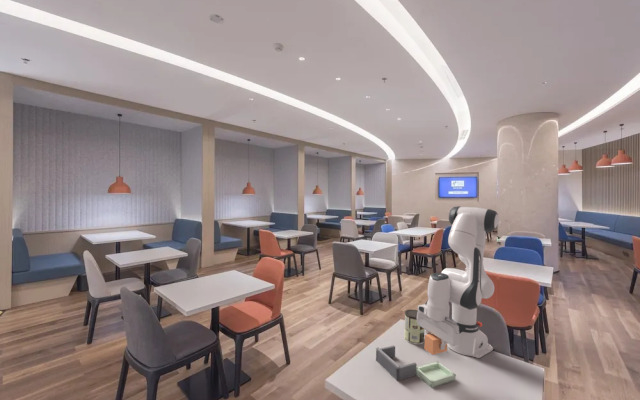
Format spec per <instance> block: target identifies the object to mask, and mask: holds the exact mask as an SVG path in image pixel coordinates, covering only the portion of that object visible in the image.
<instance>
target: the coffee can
mask: <svg viewBox="0 0 640 400" xmlns="http://www.w3.org/2000/svg"><path fill="white" fill-rule="evenodd" d="M418 311H419V310H418V309H407V310H405V311H404V332H403V338H404V340H405V341H406V342H407V343H409V344H411V345H417V346H418V345H423V344H425V329H424V328H422V327H421V326H419V325H418V324H417V312H418Z"/></svg>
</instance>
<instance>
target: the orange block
mask: <svg viewBox="0 0 640 400" xmlns="http://www.w3.org/2000/svg"><path fill="white" fill-rule="evenodd" d="M439 344H442V342H441V339H440V338H438V337H437V336H435V335H433V334H432V333H431V334H428V335H427V334H424V346H423V347H424V350H425V351H426V352H428V353H429V354H430V355H432V356H433V355H437V354H441V353H446V352H448V345H447V344H446V345H445V349H444V350H441V349H440V348H439Z"/></svg>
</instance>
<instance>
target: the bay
mask: <svg viewBox="0 0 640 400" xmlns="http://www.w3.org/2000/svg"><path fill="white" fill-rule="evenodd" d="M375 349H376V350H375V351H376V353H375V361H376V362H377V363H378V364H379V365H380V366H381V367H382V368H383V369H384V370H385V371H386V372H387V373H389V375H390V376H392V378H394V379H395V380H396V381H397V382H398V381H402V380H405V379H408V378H411V377H414V376H417V375H416V367H418V365H417V363H416V362H412V363H408V364H405V365H399V364H398V363H396V361H394V360H393V359H392V358H395V357H396V346H395V345H390V346H386V347H381V348H380V347H379V346H377V347H375Z"/></svg>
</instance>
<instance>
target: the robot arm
mask: <svg viewBox="0 0 640 400" xmlns="http://www.w3.org/2000/svg"><path fill="white" fill-rule="evenodd" d="M448 223H450V224H451V228H450V230H449V234H448V238H447V240H448V241H447V243H448V246H449V247H450V249H451V250H452V251H453V252H454V253H455V254H457V255H458V259H459V260H460V261H461V262H462V263H463V264H465V269H466V270H462V269H458V268H453V267H445V268H444V269H443V270H442V271H441V272H433V273H432V274H430V276H429V279H428V283H427V301H426V303H424V304H419V305H417V310H418V312H417V324H418V325H419V326H421V327H422V328H424V331H425V333H426V335H428V334H433V335H435V336H437V337H438V338H440V339H441V342H442V344H439V348H440V349H441V350H444V349H445V345H446V344H447V348H448V349H451V350H452V351H453V352H455V353H458V354H460V355H463V356H470V357H474V358H477V359H480V358H482V357H484V356H485V355H487V354H489V353H490V352H492V351H493V350H494V347H493V346H492V345H491V344H490V343H489V341H488V340H489V339H488V336H487V334H485V333H484V332H483V331H482V330H480V329H479V327H480V328H481V327H483V323H482V322H480V321H477V317H478V315H477V314H478V309H477V308H479V307H480V306H481V303H482V299H490V298H491V297H492V296H493V295H494V293H495V284H494V282H493V280H492V279H491V277H489V275H488V274H487V272H486V270H485V266H484V257H485V256H484V255H485V249H486V241H487V240H486V239H487V235H488V234H490V233H491V232H494V230H496V229H497V227H498V225H499V223H500V219H499V213H498V212H497V211H496V210H493V209H491V208H490V209H489V208H483V207H476V206H473V207H472V206H458V205H457V206H453V207H452V208H451V209H450V211H449V213H448ZM450 303H451V307H450ZM450 309H451V316H450Z"/></svg>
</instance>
